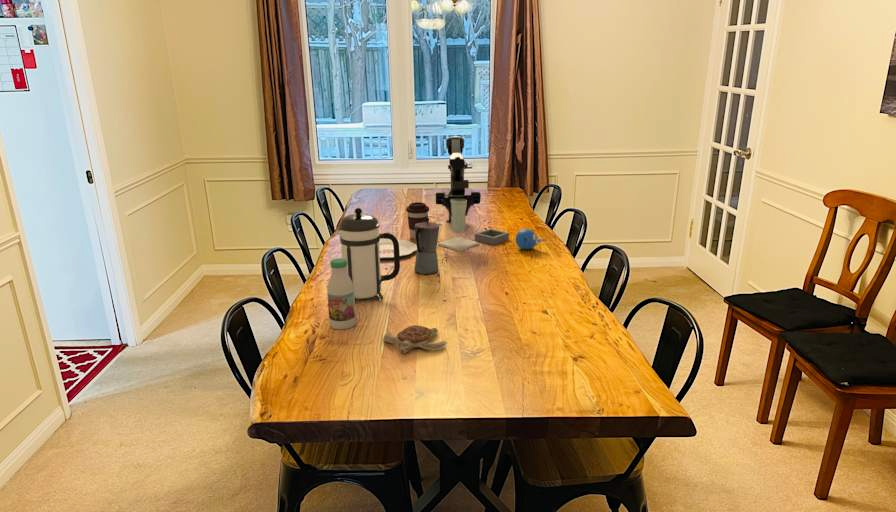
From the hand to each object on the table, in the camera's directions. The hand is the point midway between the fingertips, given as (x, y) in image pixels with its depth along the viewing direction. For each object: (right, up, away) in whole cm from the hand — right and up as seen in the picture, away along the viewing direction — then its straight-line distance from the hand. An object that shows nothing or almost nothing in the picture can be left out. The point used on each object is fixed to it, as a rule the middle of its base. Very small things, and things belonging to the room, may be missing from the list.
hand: (458, 215), depth 239 cm
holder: (+15, -10, +12) cm, 21 cm away
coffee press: (-31, -30, -47) cm, 64 cm away
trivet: (0, -12, +5) cm, 13 cm away
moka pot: (-12, -23, -25) cm, 36 cm away
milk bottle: (-35, -37, -68) cm, 85 cm away
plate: (-29, -15, -2) cm, 33 cm away
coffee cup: (-17, -9, +17) cm, 26 cm away
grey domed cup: (0, -6, +2) cm, 7 cm away
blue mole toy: (+29, -14, -1) cm, 33 cm away
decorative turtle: (-14, -41, -80) cm, 90 cm away
